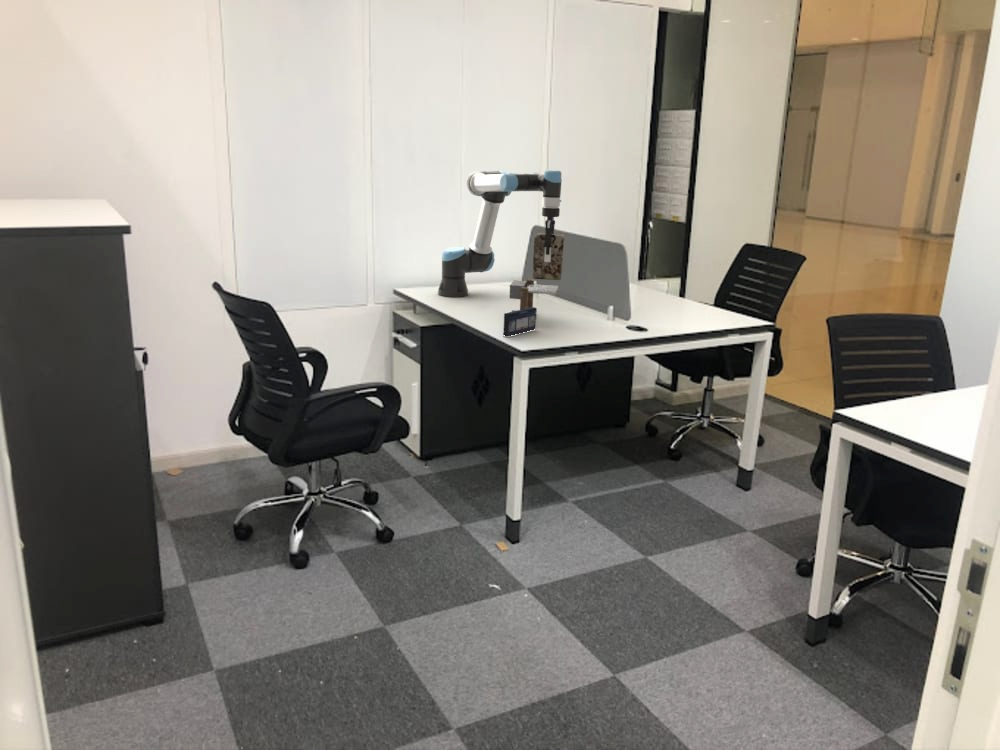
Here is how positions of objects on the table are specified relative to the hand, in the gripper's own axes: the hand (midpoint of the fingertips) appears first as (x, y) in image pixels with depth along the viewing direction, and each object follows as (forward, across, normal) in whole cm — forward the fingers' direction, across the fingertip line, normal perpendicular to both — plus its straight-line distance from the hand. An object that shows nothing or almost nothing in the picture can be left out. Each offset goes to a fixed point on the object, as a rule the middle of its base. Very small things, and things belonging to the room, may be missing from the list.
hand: (548, 260), depth 351 cm
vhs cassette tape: (+27, -27, +8) cm, 39 cm away
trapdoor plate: (+17, 0, +6) cm, 18 cm away
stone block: (+8, 0, 0) cm, 8 cm away
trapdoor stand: (+27, 0, +11) cm, 29 cm away
